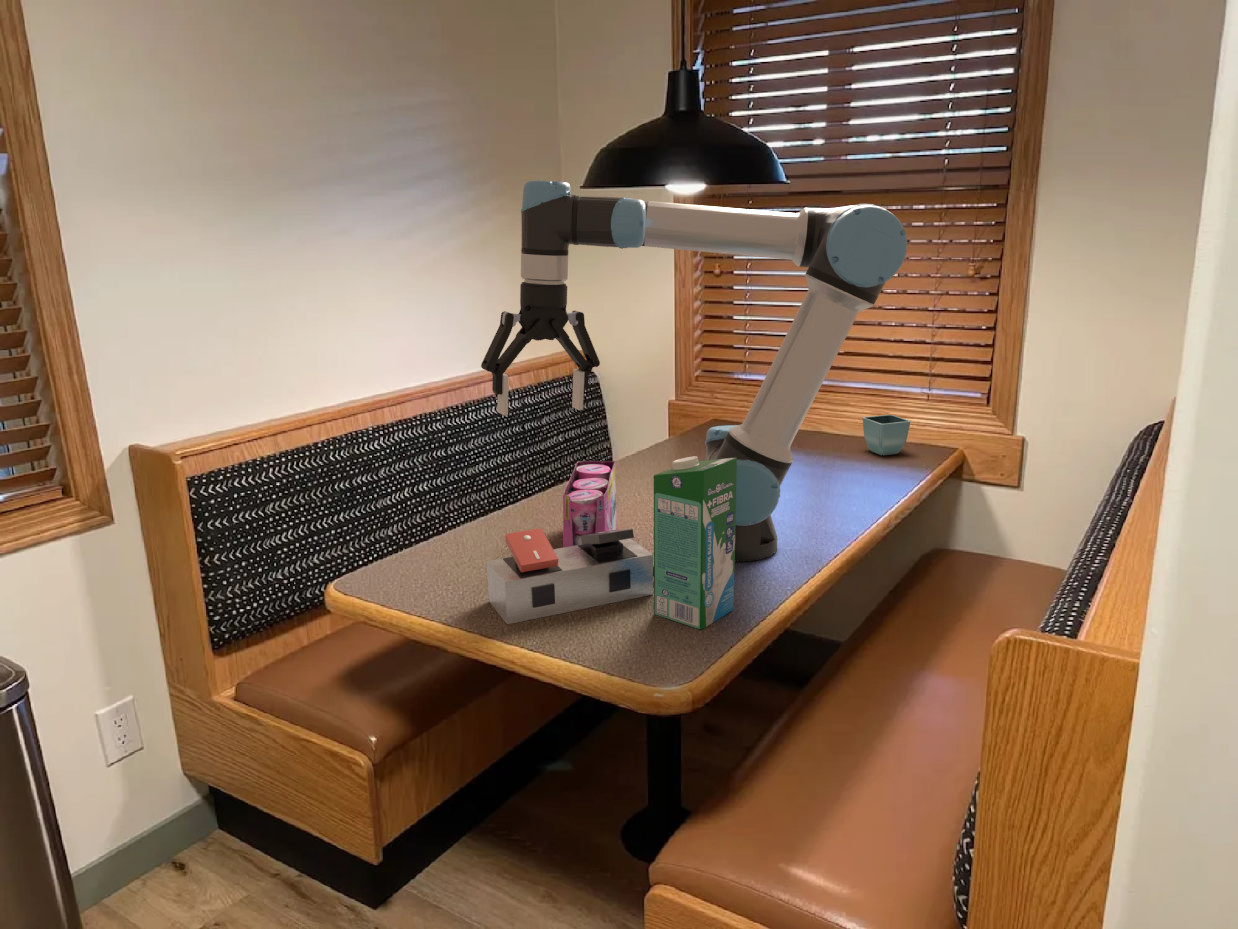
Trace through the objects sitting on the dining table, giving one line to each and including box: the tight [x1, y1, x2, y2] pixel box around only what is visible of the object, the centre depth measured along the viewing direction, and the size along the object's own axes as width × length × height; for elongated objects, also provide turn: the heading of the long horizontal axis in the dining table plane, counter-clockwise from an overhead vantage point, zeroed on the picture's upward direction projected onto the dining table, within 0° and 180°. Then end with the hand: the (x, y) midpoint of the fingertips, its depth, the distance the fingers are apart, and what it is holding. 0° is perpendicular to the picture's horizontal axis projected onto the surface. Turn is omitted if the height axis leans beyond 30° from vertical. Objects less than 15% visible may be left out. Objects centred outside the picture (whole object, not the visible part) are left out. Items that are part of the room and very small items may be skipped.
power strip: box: [486, 538, 654, 625], centre depth 147 cm, size 32×10×8 cm, turn 115°
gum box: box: [562, 460, 618, 548], centre depth 167 cm, size 24×8×14 cm, turn 176°
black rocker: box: [581, 528, 635, 544], centre depth 147 cm, size 6×8×2 cm
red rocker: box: [504, 527, 558, 572], centre depth 141 cm, size 6×8×2 cm
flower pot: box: [862, 414, 911, 456], centre depth 230 cm, size 9×9×9 cm
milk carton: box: [653, 455, 737, 631], centre depth 137 cm, size 9×9×25 cm
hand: (540, 411), depth 150 cm, fingers open, 13 cm apart
